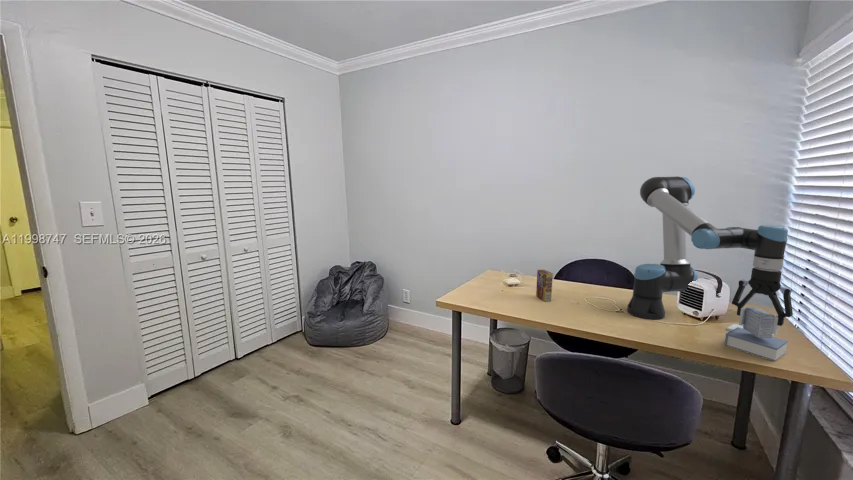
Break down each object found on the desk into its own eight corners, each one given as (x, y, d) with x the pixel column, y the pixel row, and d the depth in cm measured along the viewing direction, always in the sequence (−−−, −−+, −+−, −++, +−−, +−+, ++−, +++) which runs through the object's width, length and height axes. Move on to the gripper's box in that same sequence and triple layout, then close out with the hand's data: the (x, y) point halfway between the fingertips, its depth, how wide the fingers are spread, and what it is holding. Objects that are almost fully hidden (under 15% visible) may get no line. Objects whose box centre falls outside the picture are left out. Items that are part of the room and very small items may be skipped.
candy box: (551, 301, 181) (553, 273, 178) (544, 301, 180) (545, 273, 177) (542, 295, 189) (544, 269, 187) (535, 296, 188) (536, 269, 186)
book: (724, 345, 130) (726, 333, 129) (736, 339, 136) (737, 327, 135) (774, 362, 118) (777, 348, 117) (785, 353, 124) (787, 340, 123)
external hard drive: (734, 326, 148) (773, 337, 137) (726, 331, 144) (766, 342, 133) (734, 323, 148) (774, 333, 137) (726, 327, 143) (767, 338, 133)
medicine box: (772, 338, 121) (776, 315, 120) (757, 337, 122) (761, 314, 121) (756, 329, 129) (759, 307, 128) (742, 328, 130) (745, 307, 129)
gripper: (724, 264, 129) (717, 321, 133) (807, 277, 111) (795, 342, 115) (733, 262, 133) (725, 317, 136) (813, 273, 115) (802, 337, 118)
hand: (757, 328), depth 125 cm, fingers closed on medicine box, 9 cm apart
